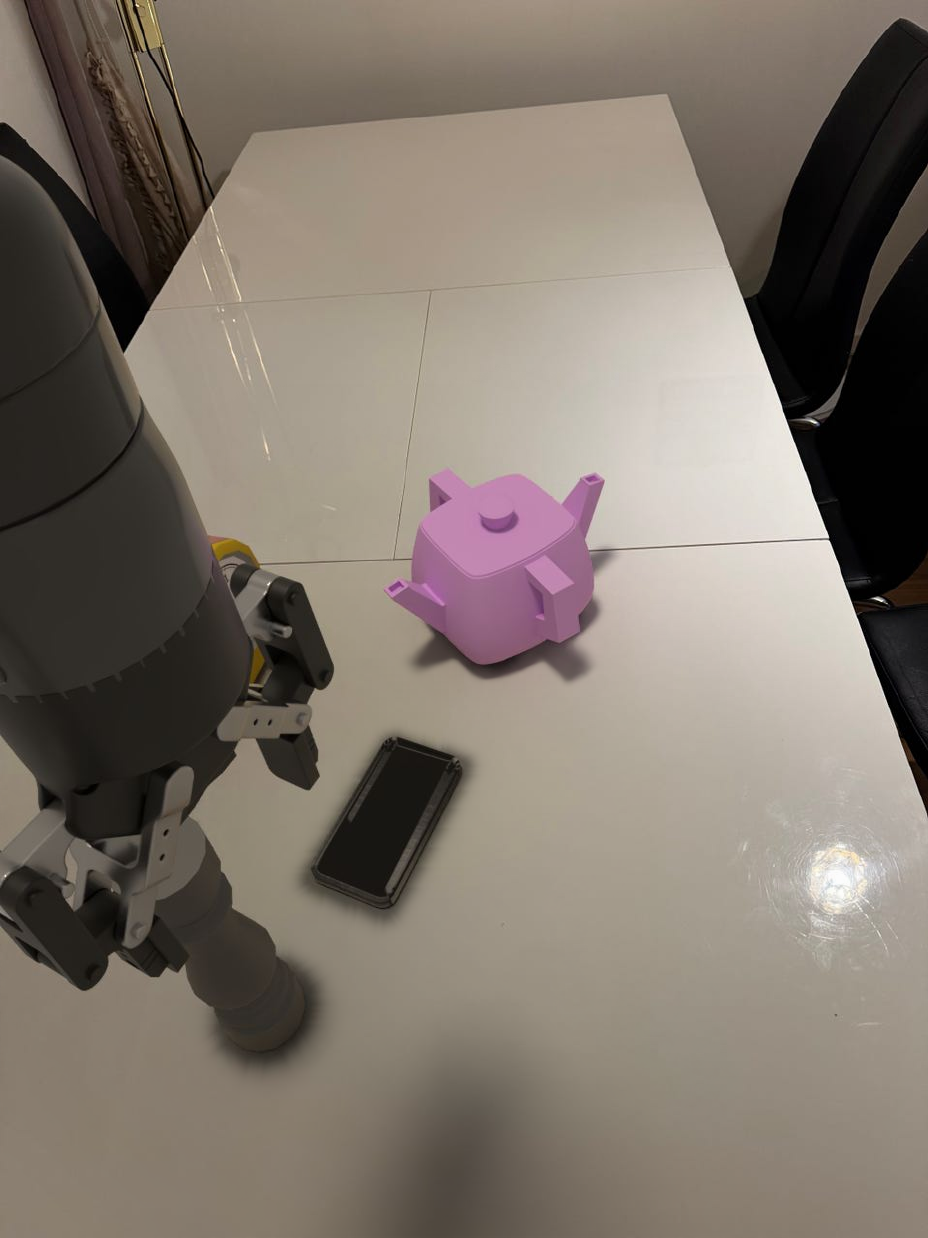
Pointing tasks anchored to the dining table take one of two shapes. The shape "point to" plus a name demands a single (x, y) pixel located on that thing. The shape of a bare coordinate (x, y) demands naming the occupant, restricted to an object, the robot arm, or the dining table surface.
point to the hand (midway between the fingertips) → (234, 861)
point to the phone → (387, 822)
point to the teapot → (501, 564)
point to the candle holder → (226, 948)
